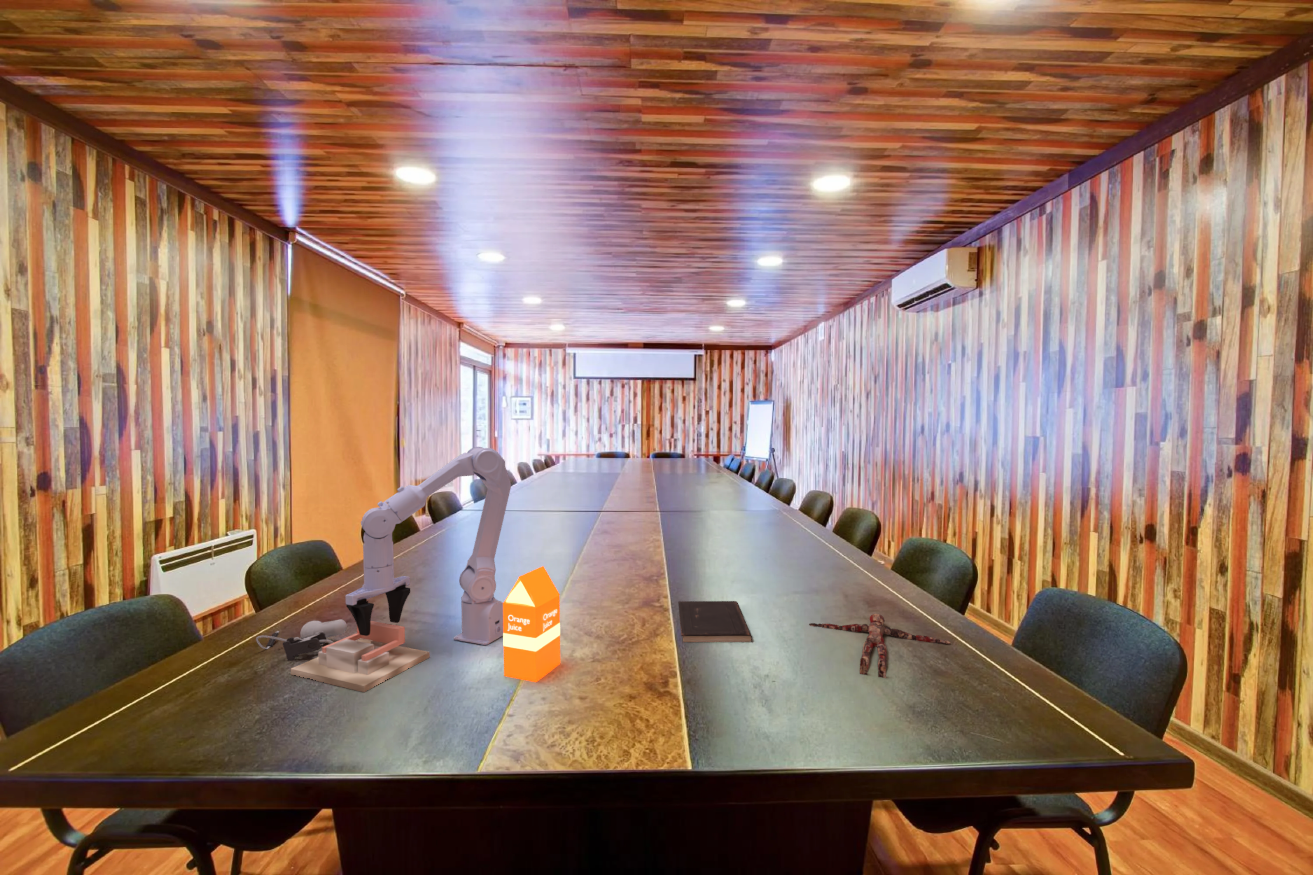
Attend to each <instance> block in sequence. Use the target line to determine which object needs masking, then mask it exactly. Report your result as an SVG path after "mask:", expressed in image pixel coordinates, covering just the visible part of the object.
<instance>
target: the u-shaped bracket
mask: <svg viewBox="0 0 1313 875" xmlns="http://www.w3.org/2000/svg"><path fill="white" fill-rule="evenodd" d="M405 629H406V627H405V626H403V625H402V626H401V625H397V624H390V623H387V622H381V621H380V622H379V621H373V620H371V629H370V635H368V636H364V635H360V633H359V630H358V626H357V625H356V632H355V633H354V634H351V635H349V636H347V637H344V638H342V639H339V640H337V641H333V643H332V644H330V643H328V644H327V645H325V646H322V647H321V651H322V652H323V653H326V647H329V646H331V645H333V644H336V643H338V642H341V641H343V640H346V639H349V640H354V641H357V640H359V639H365V640H370V641H377V642H383V643H388V644H386V645H384V646H381V647H379V648H377V649H375V650H373V651H371V652H368V653H366V654H364V655H362V661H367V660H370V659H372V658H374V657H376V656H378V655H380V654H382V653H384V652H386V651H389V650H391V649H393V648H395V647H397V646H402V645H403V644H405V643H406V632H405Z"/></svg>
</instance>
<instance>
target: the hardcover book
mask: <svg viewBox="0 0 1313 875" xmlns="http://www.w3.org/2000/svg"><path fill="white" fill-rule="evenodd" d="M677 603H678V615H679V623H680V634H681V635H680V636H681V637H682V642H683V643H738V642H739V643H740V642H741V643H744V642H745V643H747V642H749V643H753V635H752V633H751V630H750V628H749V626H748V623H747V621H746V619H745V616H744V614H743V612H742V610H741V607H740V605H739V602H738V601H736V600H711V601H710V600H707V601H706V600H697V601H695V600H692V601H689V600H686V601H685V600H684V601H683V600H682V601H678V602H677Z"/></svg>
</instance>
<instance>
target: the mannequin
mask: <svg viewBox="0 0 1313 875" xmlns="http://www.w3.org/2000/svg"><path fill="white" fill-rule="evenodd" d="M885 621H886V620H885V618H884V616H883V615H881V614H879V613H872V614H871V615H870V616H869V622H870V623H869V624H866V623H863V624H860V623H853V624H852V623H851V624H845V625H844V624H843V625H838V624H836V623H835V624H834V623H833V624H832V623H814V622H812V623H811V622H810V623H809V624H808V626H810V627H816V628H817V627H819V628H821V629H822V628H823V629H828V630H837V631H844V632H852V633H862V632H864V633H866V632H868V633H869V634H868V636H866V640H865V641H864V642H863V646H862V651H861V652H862V653H861V658H860V660H859V674H860V675H865V676H868V671H869V668H870V656H871V654H872V651H873V648H876V650H877V654H878V659H877V671H878V672H877V676H878V678H883V679H886V678H887V665H888V664H887V662H888V660H887V654H888V651H887V649H888V648H887V645H886V642H885V639H884V634H885V635H890V636H892V637H894V638H898V639H902V640H910V641H917V642H923V643H931V644H935V643H936V644H941V645H951V641H949V640H946V639H940V638H936V637H931V636H928V635H920V634H918V635H917V634H916V635H915V634H912V633H909V632H907V631H905V630H901V629H898V628H891V627H890V626H885V627H884V624H885Z"/></svg>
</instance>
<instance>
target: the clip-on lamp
mask: <svg viewBox="0 0 1313 875" xmlns="http://www.w3.org/2000/svg"><path fill="white" fill-rule="evenodd" d="M346 630H347V623H346V621H345V620H344V619H341V618H340V619H335V620H331V621H330V620H329V621H324V622H322V621H320V620H310V621H307V622H306V623H305V624H304V625H303V626H302V627H301V630H300V632H299V633H300V637H298V636H297V637H293V636H292V637H289V638H287V639H285V638H281V637H279V633H280V630H277V631H275V632H273V633H272V634H271V636H269V635H259V636H256V638H255V641H256V643H257V644H258V646H259V647H260V648H262V649H264V650H269V649H271V647H273V646H274V644H275V642H276V640H278V641H283V642H282V646H283V649H284V653H285V655H286V658H287V661H294V660H296V657H298V656H300V655H304V654H308V653H311V652H316V651H318V650H320V649H322V647H321V646H323V645H325V644H326V643H328V644H332V643H334V641H332V640H331V639H328V638H331V637H337V636H340V635H341V636H342V635H343V634H344V633H345V632H346ZM261 638H266V639H269V640H268V641H267V644H266V646H264V645H262V644H261V643H260V641H259V639H261Z"/></svg>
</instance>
